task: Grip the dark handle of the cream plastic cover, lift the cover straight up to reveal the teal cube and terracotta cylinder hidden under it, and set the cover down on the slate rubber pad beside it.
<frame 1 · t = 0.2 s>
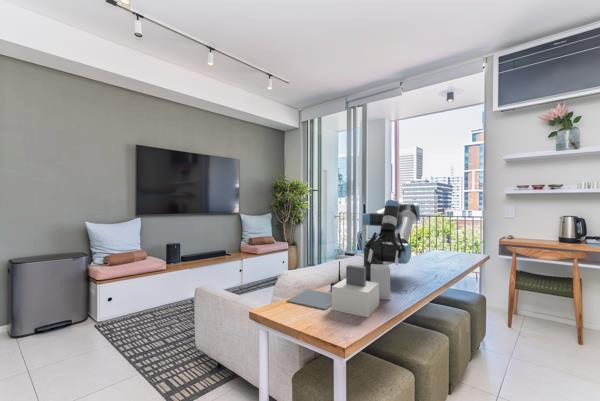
hand: (382, 262, 146), 16 cm above the table, tool tilted 35°, fingers open, 13 cm apart
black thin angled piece: (345, 290, 155), on the table
supplement box: (380, 296, 144), on the table
pad: (315, 299, 139), on the table
teal cube: (348, 306, 131), on the table
cover: (355, 307, 129), on the table
terracotta cylinder: (363, 309, 127), on the table
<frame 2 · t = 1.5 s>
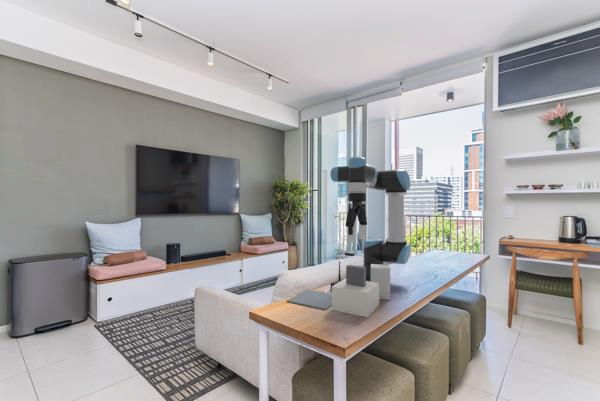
hand: (356, 240, 129), 29 cm above the table, tool pointing down, fingers open, 13 cm apart
nothing on the table moved.
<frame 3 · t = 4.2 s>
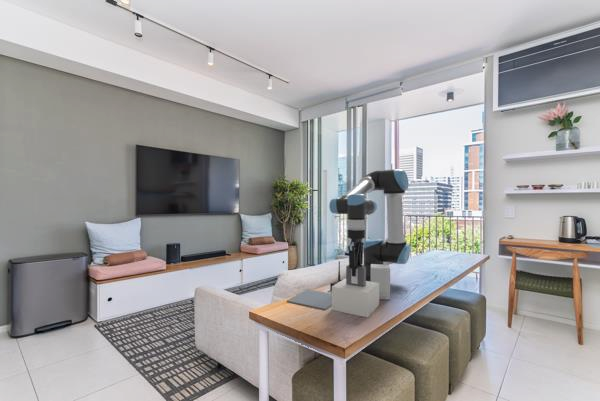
hand: (356, 282, 129), 11 cm above the table, tool pointing down, fingers closed on cover, 3 cm apart
cover: (355, 307, 129), on the table, touching gripper
everything else where it was.
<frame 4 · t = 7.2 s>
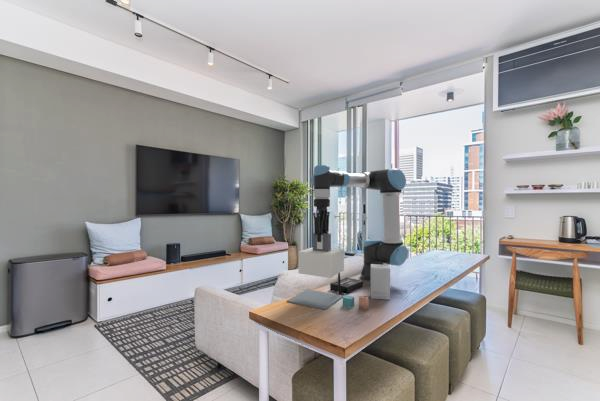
hand: (321, 248, 138), 25 cm above the table, tool pointing down, fingers closed on cover, 3 cm apart
cover: (321, 271, 138), point 14 cm above the table, touching gripper
everything else where it was.
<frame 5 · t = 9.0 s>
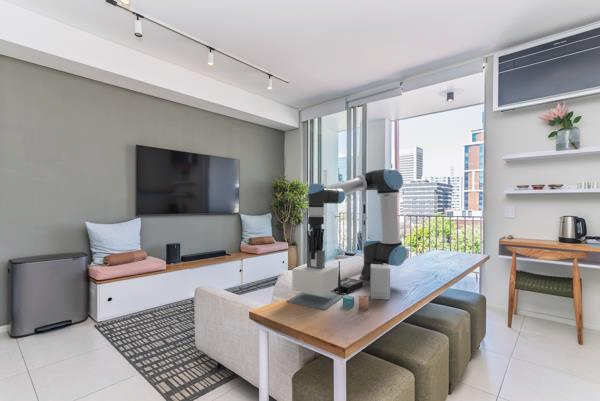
hand: (315, 265, 139), 16 cm above the table, tool pointing down, fingers closed on cover, 3 cm apart
cover: (315, 288, 139), point 5 cm above the table, touching gripper
everything else where it was.
when the fingers open (13 cm above the table, at t = 10.2 s): cover drops 1 cm, resting on pad.
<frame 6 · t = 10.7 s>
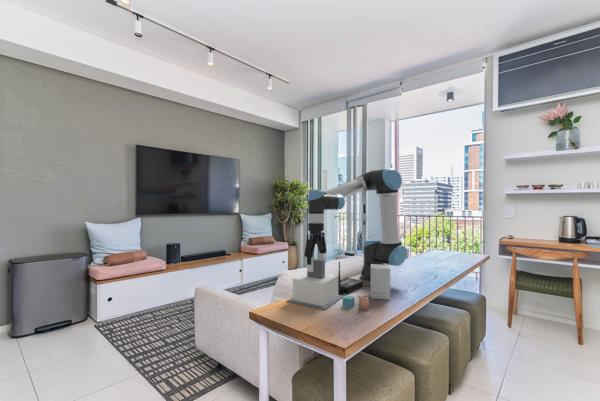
hand: (315, 268, 139), 14 cm above the table, tool pointing down, fingers open, 10 cm apart
cover: (315, 298, 139), point 1 cm above the table, touching pad
everything else where it was.
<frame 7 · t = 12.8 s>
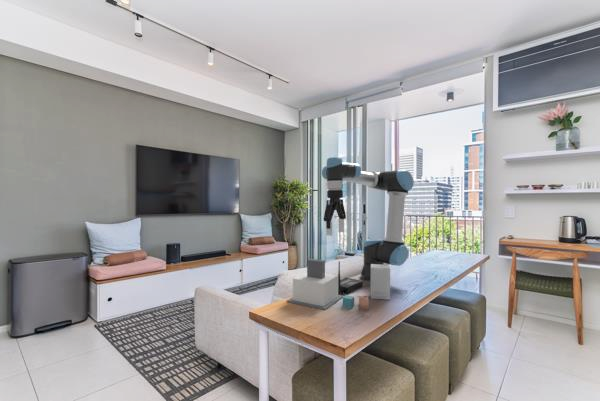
hand: (335, 233, 142), 31 cm above the table, tool pointing down, fingers open, 13 cm apart
nothing on the table moved.
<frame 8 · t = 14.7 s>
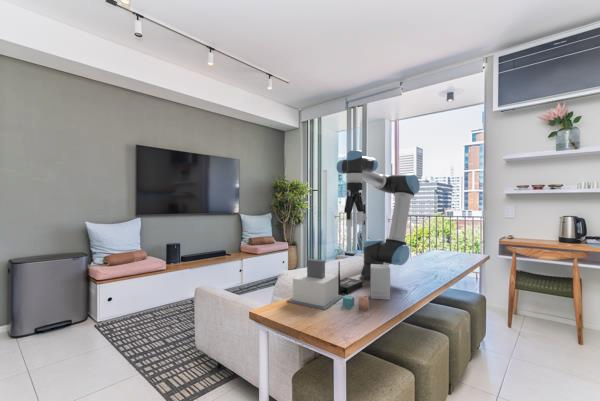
hand: (354, 225, 144), 35 cm above the table, tool pointing down, fingers open, 13 cm apart
nothing on the table moved.
at the end: cover inside the target area on the pad (0.1 cm from its centre), point 0.6 cm above the pad's base; cover tilted 0°; the gripper is holding nothing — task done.
